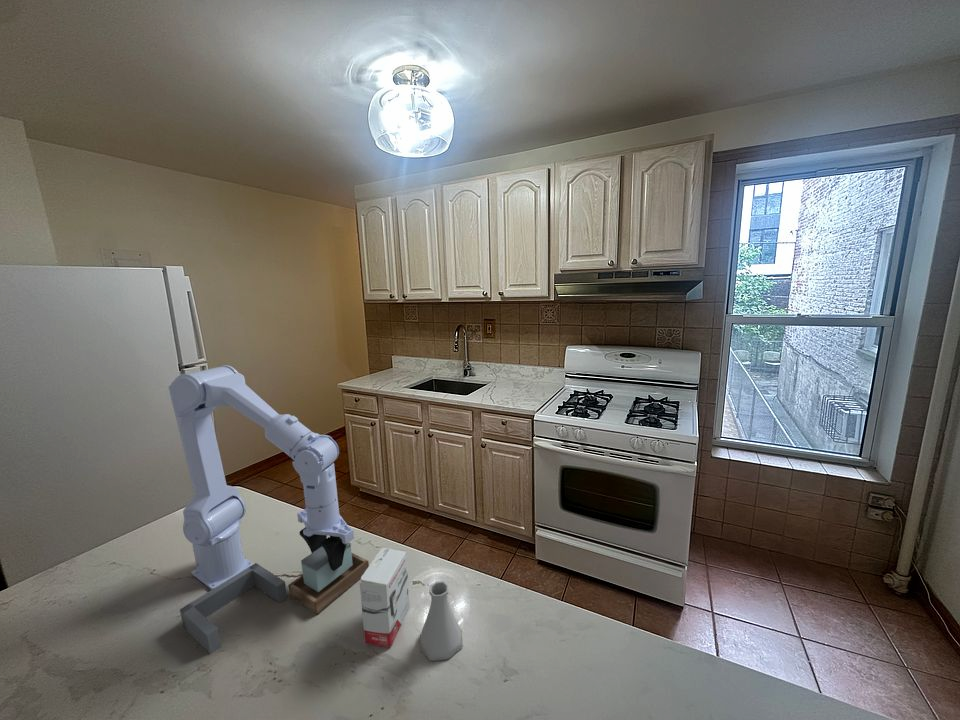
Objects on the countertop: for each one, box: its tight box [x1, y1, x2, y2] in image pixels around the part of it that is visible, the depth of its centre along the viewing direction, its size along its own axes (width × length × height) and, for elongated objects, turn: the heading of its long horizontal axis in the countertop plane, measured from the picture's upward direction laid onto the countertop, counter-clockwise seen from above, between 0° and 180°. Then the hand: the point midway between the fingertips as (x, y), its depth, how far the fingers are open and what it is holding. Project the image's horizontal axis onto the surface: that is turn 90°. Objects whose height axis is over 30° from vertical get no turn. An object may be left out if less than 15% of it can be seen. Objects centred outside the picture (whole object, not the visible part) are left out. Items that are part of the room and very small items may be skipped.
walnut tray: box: [287, 552, 370, 616], centre depth 74 cm, size 9×12×2 cm
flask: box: [419, 580, 463, 662], centre depth 60 cm, size 7×7×10 cm
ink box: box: [359, 547, 411, 648], centre depth 63 cm, size 9×5×12 cm, turn 168°
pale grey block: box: [300, 542, 353, 592], centre depth 73 cm, size 4×8×5 cm, turn 149°
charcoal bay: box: [179, 562, 288, 654], centre depth 67 cm, size 10×13×4 cm
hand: (328, 562), depth 73 cm, fingers closed on pale grey block, 4 cm apart
